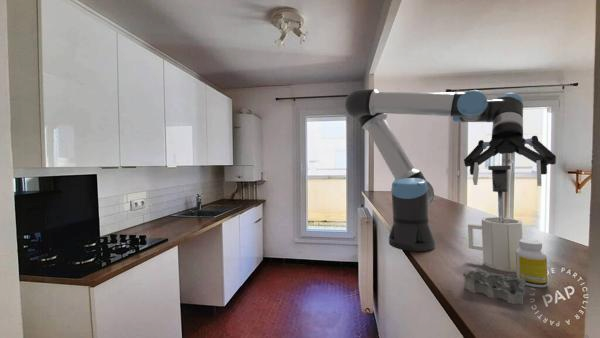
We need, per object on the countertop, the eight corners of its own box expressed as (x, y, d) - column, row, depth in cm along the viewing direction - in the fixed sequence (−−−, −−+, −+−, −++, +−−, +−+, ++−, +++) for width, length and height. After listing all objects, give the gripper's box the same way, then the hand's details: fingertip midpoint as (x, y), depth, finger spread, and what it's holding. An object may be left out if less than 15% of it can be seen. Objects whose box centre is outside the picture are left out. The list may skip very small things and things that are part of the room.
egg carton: (461, 290, 58) (460, 273, 58) (471, 279, 63) (470, 263, 63) (522, 309, 50) (521, 288, 50) (528, 295, 55) (527, 276, 55)
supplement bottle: (554, 289, 56) (552, 245, 56) (525, 287, 57) (523, 244, 57) (537, 278, 61) (535, 238, 61) (511, 277, 63) (509, 237, 63)
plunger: (486, 240, 69) (483, 166, 69) (490, 235, 74) (487, 165, 73) (515, 244, 65) (512, 165, 65) (517, 239, 69) (514, 165, 69)
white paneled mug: (466, 263, 72) (464, 220, 72) (472, 255, 78) (471, 215, 78) (522, 275, 63) (520, 225, 63) (524, 264, 70) (522, 219, 69)
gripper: (563, 134, 73) (571, 192, 62) (462, 142, 90) (454, 189, 79) (565, 114, 69) (572, 172, 58) (459, 126, 86) (450, 173, 75)
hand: (504, 182), depth 69 cm, fingers open, 13 cm apart
